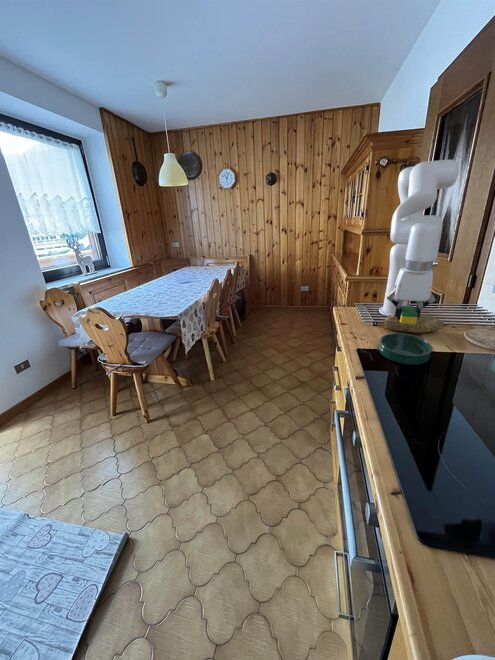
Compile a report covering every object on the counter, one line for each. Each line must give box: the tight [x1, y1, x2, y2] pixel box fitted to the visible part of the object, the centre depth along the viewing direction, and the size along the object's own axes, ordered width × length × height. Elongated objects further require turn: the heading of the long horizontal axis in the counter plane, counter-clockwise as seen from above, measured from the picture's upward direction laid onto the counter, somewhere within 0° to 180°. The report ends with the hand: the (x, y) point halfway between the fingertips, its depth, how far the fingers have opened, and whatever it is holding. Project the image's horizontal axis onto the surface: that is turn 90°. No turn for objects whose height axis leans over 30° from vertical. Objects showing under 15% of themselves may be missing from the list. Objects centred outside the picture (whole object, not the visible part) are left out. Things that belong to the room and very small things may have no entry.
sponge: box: [383, 313, 445, 334], centre depth 114 cm, size 13×8×20 cm
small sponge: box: [400, 305, 418, 324], centre depth 95 cm, size 7×4×4 cm, turn 164°
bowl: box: [377, 332, 433, 366], centre depth 99 cm, size 16×16×4 cm
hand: (406, 318), depth 96 cm, fingers closed on small sponge, 4 cm apart
